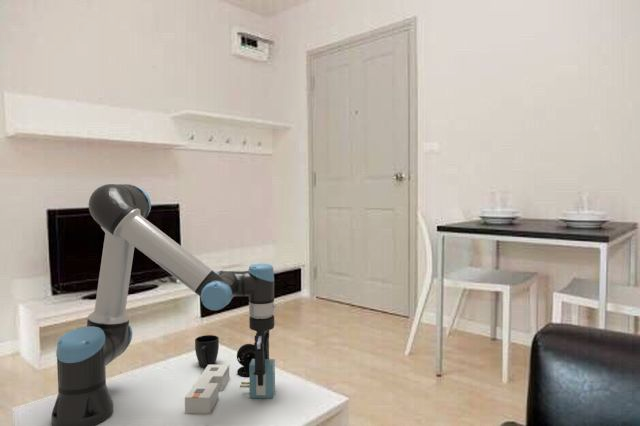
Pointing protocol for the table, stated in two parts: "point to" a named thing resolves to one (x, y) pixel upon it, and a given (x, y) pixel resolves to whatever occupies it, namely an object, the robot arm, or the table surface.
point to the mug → (206, 350)
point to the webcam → (245, 358)
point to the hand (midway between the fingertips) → (262, 390)
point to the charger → (269, 379)
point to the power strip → (206, 389)
